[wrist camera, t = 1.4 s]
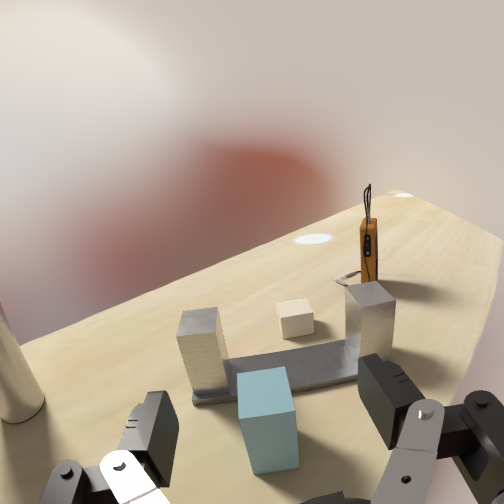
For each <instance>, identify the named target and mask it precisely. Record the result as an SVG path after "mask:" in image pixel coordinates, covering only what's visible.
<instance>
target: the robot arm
mask: <svg viewBox="0 0 504 504" xmlns="http://www.w3.org/2000/svg"><path fill="white" fill-rule="evenodd" d="M358 391H359V395H360V398H361V400H362V402H363V404H364V406H365V407H366V409H367V411H368V413H369V415H370V417H371V418H372V420H373V422H374V424H375V426H376V428H377V429H378V431H379V433H380V435H381V437H382V439H383V441H384V442H385V444H386V446H387V448H388V450H392V449H393V451H392V454H391V456H390V459H389V461H388V464H387V466H386V469H385V471H384V474H383V476H382V478H381V481H380V483H379V485H378V488H377V490H376V492H375V494H374V497H373V499H372V501H371V500H366V499H359V498H344V495H343V492H342V491H341V492H337V493H333V494H329V495H325V496H321V497H316V498H312V499H310V500H307V501H305V502H303V503H300V504H424V501H425V498H426V494H427V491H428V488H429V484H430V481H431V477H432V474H433V470H434V465H435V462H436V459H442V458H448V457H452V459H453V461H454V462H455V464H456V466H457V467H458V469H459V471H460V472H461V474H462V476H463V478H464V479H465V481H466V483H467V485H468V486H469V488H470V490H471V492H472V493H473V495H474V497H475V499H476V500H477V502H478V504H504V406H503V405H502V403H501V402H500V401H499V400H498V399H497V398H496V397H495V396H494V395H493V394H492V393H490V392H487V391H483V390H479V391H474V392H471V393H470V394H468V395H467V396H466V398H465V400H464V404H459V405H453V406H446V407H443V405H442V404H441V403H440V402H438V401H436V400H433V399H426V398H425V397H424V396H423V394H422V393H421V392H420V391H419V389H418V388H417V387H416V386H415V385H414V383H413V382H412V381H411V380H410V379H409V377H408V376H407V375H406V374H405V372H404V371H403V370H402V369H401V367H400V366H399V365H397V364H395V363H393V362H391V361H386V362H383V361H382V360H381V358H380V357H379V356H378V354H377V353H373V354H369V355H366V356H362V357H359V358H358ZM43 402H44V394H43V392H42V390H41V388H40V386H39V384H38V383H37V381H36V379H35V377H34V375H33V373H32V371H31V369H30V368H29V366H28V364H27V362H26V360H25V358H24V356H23V354H22V352H21V350H20V347H19V345H18V343H17V341H16V339H15V337H14V334H13V332H12V330H11V328H10V325H9V323H8V321H7V318H6V316H5V313H4V311H3V308H2V306H1V303H0V417H1V418H2V419H3V420H4V421H5V422H8V423H19V422H23V421H25V420H27V419H29V418H31V417H32V416H33V415H35V414H36V413H37V412H38V411H39V409H40V408H41V406H42V404H43ZM178 432H179V422H178V418H177V415H176V413H175V410H174V408H173V405H172V403H171V400H170V398H169V395H168V393H167V392H166V391H153V392H148V393H147V396H146V399H145V401H144V403H143V404H138V405H137V406H136V407H135V408H134V409H133V410H132V411H131V414H130V416H129V419H128V422H127V424H126V428H125V430H124V432H123V435H122V438H121V441H120V443H119V446H118V449H117V451H116V452H113V453H111V454H109V455H107V456H106V457H105V458H104V459H103V461H102V463H101V465H98V466H93V467H87V468H82V466H81V465H80V464H79V463H78V462H77V461H74V460H65V461H62V462H60V463H58V464H57V465H56V466H55V467H54V468H53V470H52V472H51V475H50V477H49V479H48V482H47V484H46V487H45V489H44V492H43V494H42V497H41V499H40V502H39V504H170V503H169V502H168V501H167V499H166V498H165V497H164V496H163V494H162V493H161V492H160V491H159V488H160V487H169V486H170V479H171V473H172V467H173V461H174V455H175V449H176V444H177V438H178Z"/></svg>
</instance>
